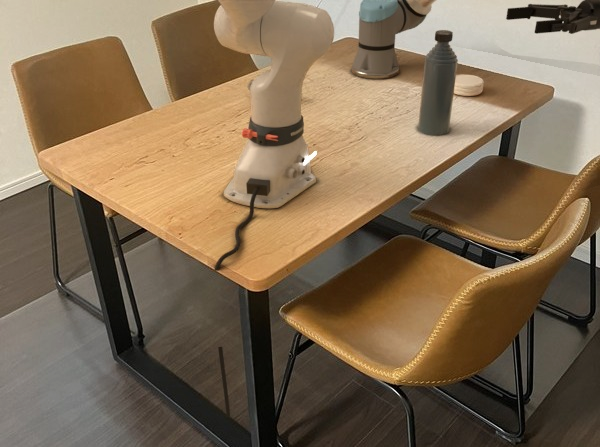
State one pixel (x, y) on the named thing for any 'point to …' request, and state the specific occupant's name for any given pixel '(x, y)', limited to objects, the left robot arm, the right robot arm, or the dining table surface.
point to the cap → (443, 36)
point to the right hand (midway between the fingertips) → (521, 20)
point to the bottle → (437, 90)
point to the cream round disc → (468, 85)
